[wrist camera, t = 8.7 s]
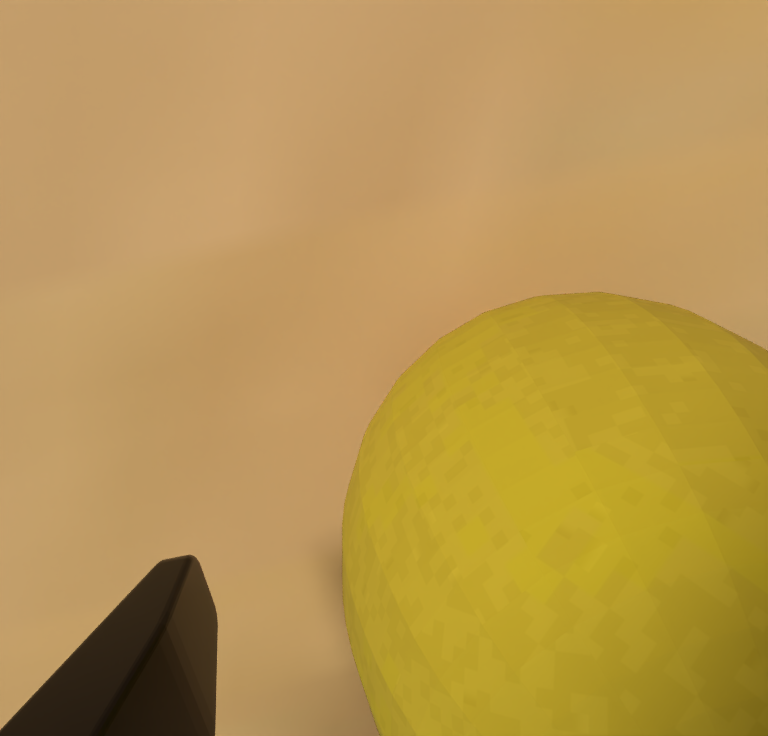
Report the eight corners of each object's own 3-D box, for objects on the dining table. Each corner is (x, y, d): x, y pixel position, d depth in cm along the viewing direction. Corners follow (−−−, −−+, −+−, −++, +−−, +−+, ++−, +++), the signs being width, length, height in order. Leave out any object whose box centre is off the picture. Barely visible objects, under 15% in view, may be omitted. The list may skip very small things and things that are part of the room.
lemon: (746, 299, 11) (1558, 795, 4) (572, 570, 13) (895, 1238, 6) (420, 159, 10) (725, 510, 3) (280, 484, 12) (231, 1206, 5)
